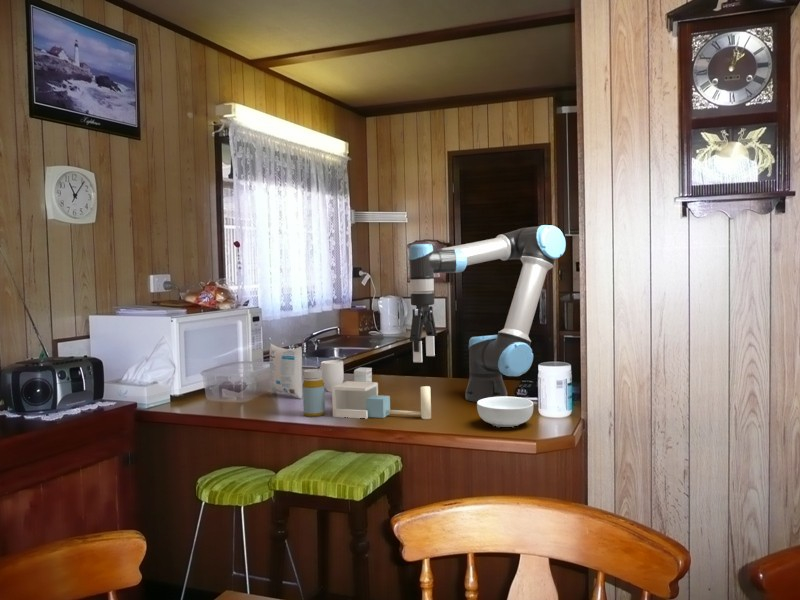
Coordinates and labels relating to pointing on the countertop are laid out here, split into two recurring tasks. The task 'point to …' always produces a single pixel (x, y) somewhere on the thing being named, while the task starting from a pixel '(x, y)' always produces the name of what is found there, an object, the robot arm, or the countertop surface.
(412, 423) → the countertop surface
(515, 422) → the cereal bowl
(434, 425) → the countertop surface
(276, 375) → the pouch
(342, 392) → the cubby shelf
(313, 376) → the bottle
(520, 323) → the robot arm
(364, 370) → the ink box
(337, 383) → the mug
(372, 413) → the toy mallet
